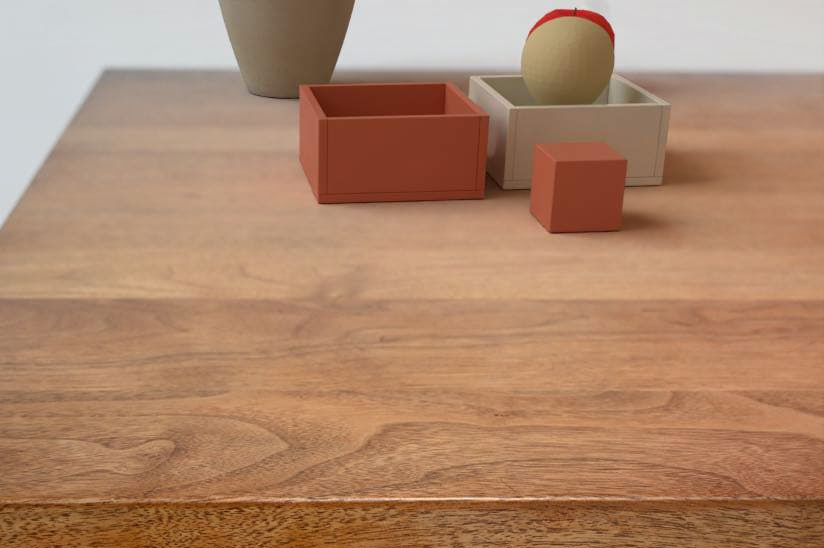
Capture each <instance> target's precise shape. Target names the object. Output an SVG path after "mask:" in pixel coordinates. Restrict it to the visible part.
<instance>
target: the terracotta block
mask: <svg viewBox="0 0 824 548" xmlns="http://www.w3.org/2000/svg"><path fill="white" fill-rule="evenodd" d="M627 162H628V160H627V159H626V158H625V157H623V156H622V155H621V154H619V153H618V152H617V151H615V150H614V149H612V148H611V147H610V146H608V145H607V144H606V143H604V142H571V143H536V144H535V146H534V159H533V171H532V183H531V189H530V197H529V207H528V208H529V210H528V211H529V213H530V214H531V215H532V216H533V217H534V218H535V219H536V220H537V221H538V222H539V224H540V225H541V226H543V228H544V229H545V230H546V231H547V232H548V233H550V234H553V233H580V232H581V233H584V232H586V233H587V232H614V231H617V232H618V231H620V230H621V226H622V225H621V224H622V216H623V207H624V206H623V205H624V195H625V187H626V186H625V180H626V171H627Z"/></svg>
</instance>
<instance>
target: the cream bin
mask: <svg viewBox="0 0 824 548" xmlns="http://www.w3.org/2000/svg"><path fill="white" fill-rule="evenodd" d="M468 86H469V87H468V97H469V98H470V99H471V100H472V101H473V102H475V103H476V104H477V105H478V106H479V107H480V108H481V109H482V110H483V111H485V112H486V113H487V114H488V115H489V130H488V146H487V161H486V174H488V175H489V176H490V177H491V178H492V179H493V180H494V181H495V183H497V184H498V186H499V187H500V188H501V189H502V190H506V191H507V190H531V183H532V171H533V159H534V146H535V144H536V143H571V142H604V143H606V144H607V145H608V146H610V147H611V148H612V149H614V150H615V151H617V152H618V153H619V154H621V155H622V156H623V157H625V158H626V159H627V160H628V162H627V171H626V180H625V187H641V186H662V185H663V184H662V183H663V176H664V167H665V161H666V160H665V159H666V151H667V144H668V143H667V142H668V134H669V127H670V120H671V111H672V110H671V109H672V104H671V103H670V102H667V101H666V100H664V99H662V98H660V97H659V96H657V95H655V94H653V93H651V92H649V90H646V89H645V88H643V87H641V86H639V85H637V84H635V83H634V82H632V81H630V80H628V79H626V78H625V77H623V76H621V75H619V74H617V73H616V72H613V73H612V76H611V78H610V80H609V83H608V84H607V86H606V88H605V89H604V90H603V92H602V93H601V94H600V96H599V97H598V98H597V99H596V100H595V101H594V103H593V104H592V105H552V106H538V104H537V103H536V101H535V100H534V98H533V97H532V95H531V94H530V92H529V90H528V88H527V86H526V84H525V82H524V79H523V76H522V74H503V75H501V74H497V75H496V74H495V75H470V76H469V85H468Z"/></svg>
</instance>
